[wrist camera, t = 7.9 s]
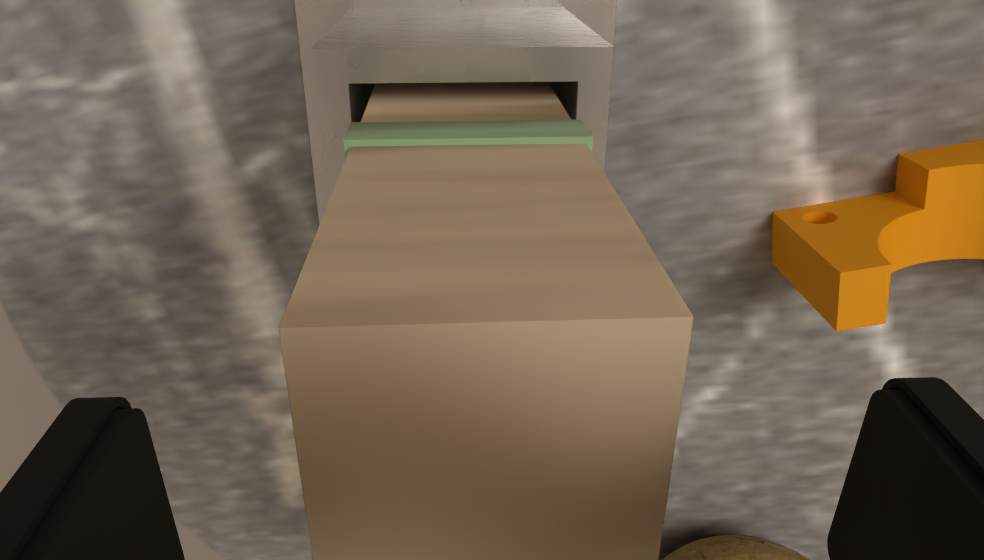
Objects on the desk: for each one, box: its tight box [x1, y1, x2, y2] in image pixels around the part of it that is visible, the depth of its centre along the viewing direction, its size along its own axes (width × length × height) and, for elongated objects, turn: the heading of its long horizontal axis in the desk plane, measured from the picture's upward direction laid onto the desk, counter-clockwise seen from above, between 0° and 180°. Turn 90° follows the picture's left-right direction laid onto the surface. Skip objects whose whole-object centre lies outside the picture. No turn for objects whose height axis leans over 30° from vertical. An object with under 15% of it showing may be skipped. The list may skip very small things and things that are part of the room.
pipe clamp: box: [772, 140, 984, 331], centre depth 30 cm, size 12×4×6 cm, turn 99°
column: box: [279, 82, 693, 560], centre depth 17 cm, size 6×6×15 cm
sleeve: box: [294, 0, 617, 225], centre depth 26 cm, size 12×12×10 cm
